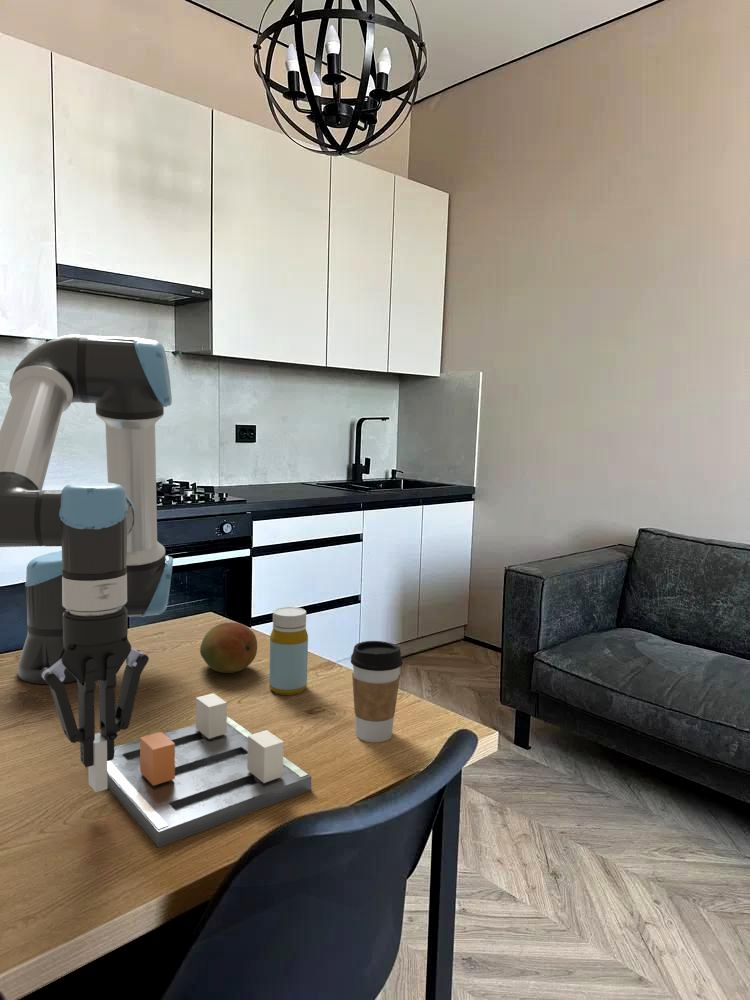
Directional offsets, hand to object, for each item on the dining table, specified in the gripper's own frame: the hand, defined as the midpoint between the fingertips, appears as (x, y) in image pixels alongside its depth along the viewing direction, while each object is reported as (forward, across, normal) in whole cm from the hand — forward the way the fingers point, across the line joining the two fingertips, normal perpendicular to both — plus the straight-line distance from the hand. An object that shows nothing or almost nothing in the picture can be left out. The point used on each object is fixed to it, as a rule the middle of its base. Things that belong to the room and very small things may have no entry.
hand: (97, 786), depth 91 cm
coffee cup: (+4, +43, -4) cm, 43 cm away
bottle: (+4, +42, +20) cm, 47 cm away
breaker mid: (+2, +8, 0) cm, 8 cm away
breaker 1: (+2, +20, +8) cm, 22 cm away
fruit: (+4, +37, +35) cm, 51 cm away
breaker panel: (+3, +14, 0) cm, 14 cm away
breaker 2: (+2, +20, -8) cm, 22 cm away
